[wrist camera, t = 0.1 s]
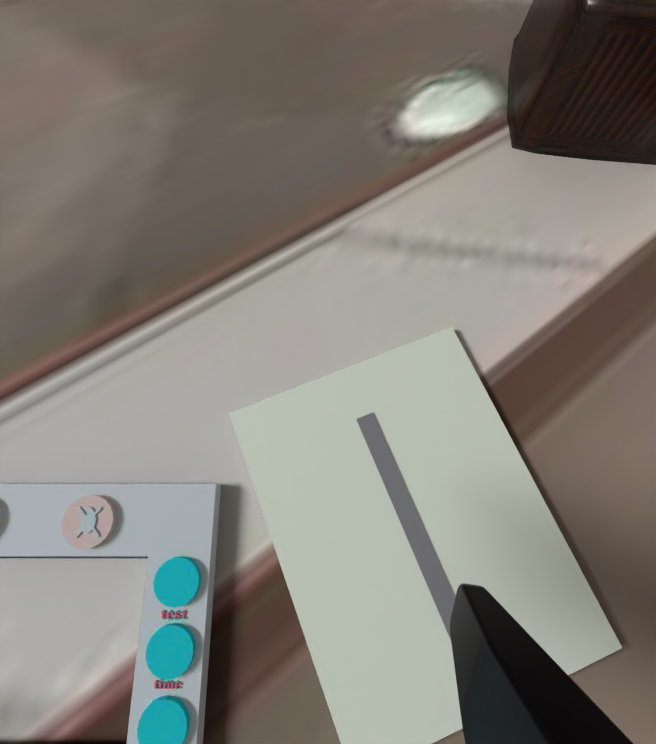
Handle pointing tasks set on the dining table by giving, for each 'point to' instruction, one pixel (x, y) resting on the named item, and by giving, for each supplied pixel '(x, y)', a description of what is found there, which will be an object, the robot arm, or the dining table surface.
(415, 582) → the mat
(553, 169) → the dining table surface
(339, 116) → the dining table surface
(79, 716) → the dining table surface
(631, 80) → the manual coffee grinder
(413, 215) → the dining table surface
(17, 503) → the electronic device
